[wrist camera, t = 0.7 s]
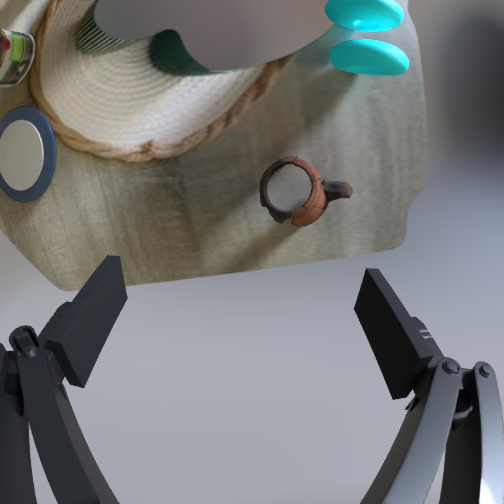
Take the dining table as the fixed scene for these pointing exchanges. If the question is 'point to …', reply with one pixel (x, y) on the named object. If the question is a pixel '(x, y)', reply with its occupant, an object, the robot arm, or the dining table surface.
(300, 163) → the brown jagged ring piece
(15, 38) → the coffee can
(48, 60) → the dining table surface
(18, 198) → the plate
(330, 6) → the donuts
